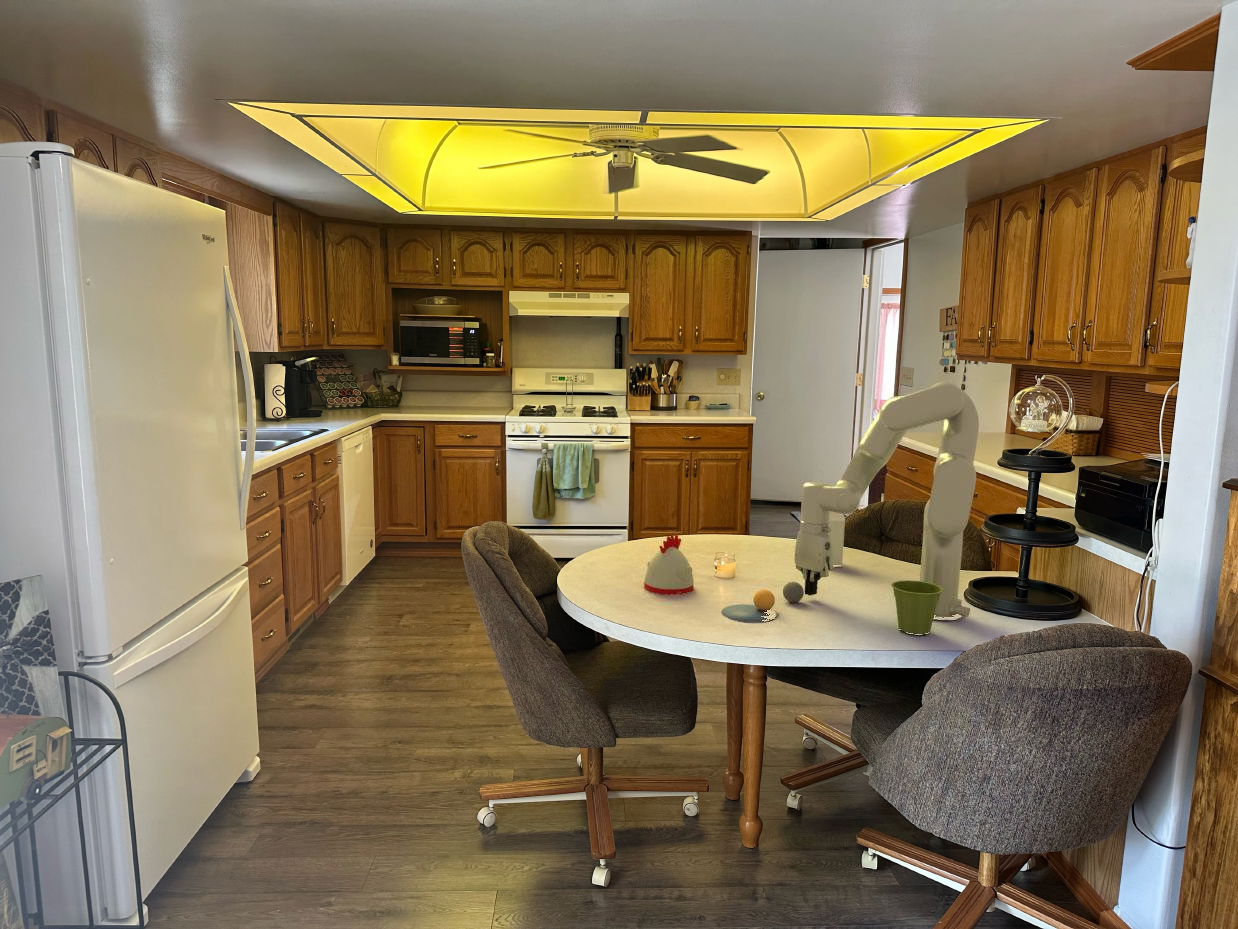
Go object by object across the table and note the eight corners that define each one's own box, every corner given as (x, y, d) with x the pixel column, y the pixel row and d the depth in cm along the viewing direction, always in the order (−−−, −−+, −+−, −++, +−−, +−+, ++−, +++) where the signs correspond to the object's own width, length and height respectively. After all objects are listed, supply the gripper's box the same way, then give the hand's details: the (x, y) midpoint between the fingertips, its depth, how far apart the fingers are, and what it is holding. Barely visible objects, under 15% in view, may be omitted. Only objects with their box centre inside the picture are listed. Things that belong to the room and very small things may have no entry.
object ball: (771, 588, 213) (760, 606, 211) (782, 599, 215) (772, 617, 214) (756, 583, 217) (745, 600, 216) (767, 593, 220) (756, 611, 219)
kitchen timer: (703, 588, 234) (705, 536, 232) (670, 598, 225) (672, 544, 223) (667, 578, 244) (668, 528, 242) (634, 586, 235) (635, 534, 232)
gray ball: (793, 581, 220) (790, 602, 219) (809, 584, 222) (806, 604, 222) (779, 579, 225) (777, 600, 224) (795, 581, 227) (793, 602, 227)
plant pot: (927, 623, 209) (931, 580, 207) (947, 640, 197) (951, 594, 195) (881, 623, 208) (884, 579, 206) (898, 639, 196) (901, 593, 195)
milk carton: (842, 568, 259) (845, 508, 257) (819, 567, 259) (822, 507, 257) (836, 562, 266) (840, 503, 264) (814, 561, 267) (817, 503, 264)
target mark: (788, 616, 211) (788, 615, 211) (748, 626, 203) (748, 625, 203) (749, 602, 223) (749, 601, 223) (710, 610, 214) (710, 610, 214)
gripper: (845, 532, 220) (841, 599, 222) (802, 521, 232) (799, 585, 234) (826, 535, 215) (822, 603, 218) (784, 524, 227) (780, 589, 230)
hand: (810, 594), depth 226 cm, fingers closed
